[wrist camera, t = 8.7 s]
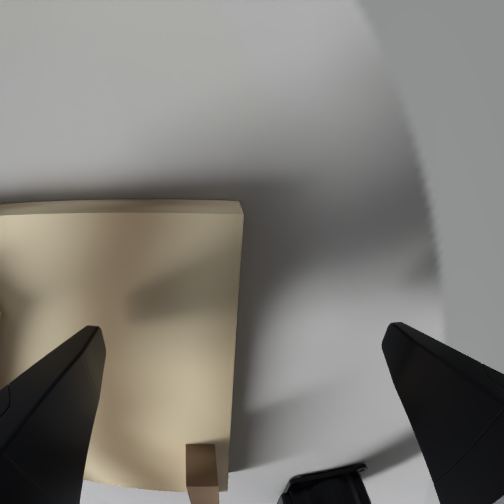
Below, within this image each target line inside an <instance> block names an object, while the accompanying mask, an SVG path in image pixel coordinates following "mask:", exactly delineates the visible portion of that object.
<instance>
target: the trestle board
mask: <svg viewBox="0 0 504 504" xmlns="http://www.w3.org/2000/svg"><path fill="white" fill-rule="evenodd" d="M243 222H244V213H243V211H242V208H241V205H240V203H239V201H226V200H185V199H107V200H69V201H44V202H25V203H9V204H0V311H2V312H3V314H2V320H1V325H0V390H1V389H2V388H3V387H5V386H6V385H7V384H8V385H9V383H10V382H11V381H13V380H14V379H15V378H17V377H18V376H19V375H20V374H22V373H23V372H24V371H26V370H27V369H28V368H30V367H31V366H32V365H34V364H35V363H36V362H38V361H39V360H40V359H42V358H43V357H44V356H46V355H47V354H48V353H50V352H51V351H52V350H54V349H55V348H56V347H58V346H59V345H60V344H62V343H63V342H65V341H66V340H67V339H69V338H70V337H71V336H73V335H74V334H76V333H77V332H78V331H80V330H81V329H82V328H84V327H85V326H87V325H92V326H99V327H100V328H101V330H102V334H103V338H104V342H105V346H106V359H105V365H104V372H103V379H102V386H101V393H100V399H99V404H98V408H97V412H96V416H95V421H94V425H93V430H92V434H91V439H90V444H89V449H88V454H87V459H86V465H85V470H84V476H83V479H84V480H88V481H93V482H98V483H104V484H110V485H116V486H123V487H130V488H138V489H148V490H159V491H175V492H188V495H189V498H190V502H191V504H219V492H227V489H228V468H229V448H230V429H231V411H232V393H233V375H234V359H235V342H236V326H237V310H238V295H239V280H240V265H241V250H242V236H243Z"/></svg>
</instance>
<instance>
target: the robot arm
mask: <svg viewBox="0 0 504 504" xmlns="http://www.w3.org/2000/svg"><path fill="white" fill-rule="evenodd" d="M382 350H383V353H384V356H385V359H386V362H387V365H388V368H389V371H390V374H391V377H392V380H393V383H394V386H395V388H396V391H397V393H398V395H399V397H400V400H401V402H402V404H403V407H404V409H405V411H406V414H407V416H408V418H409V421H410V423H411V426H412V428H413V431H414V433H415V436H416V438H417V441H418V443H419V446H420V448H421V451H422V453H423V456H424V459H425V461H426V464H427V467H428V469H429V472H430V475H431V478H432V480H433V483H434V487H435V489H436V492H437V495H438V498H439V501H440V504H504V374H502V373H500V372H498V371H496V370H494V369H492V368H490V367H488V366H486V365H484V364H481V363H480V362H478V361H476V360H474V359H473V358H471V357H469V356H466V355H465V354H463V353H461V352H459V351H457V350H455V349H453V348H451V347H449V346H447V345H445V344H443V343H441V342H439V341H437V340H435V339H434V338H432V337H430V336H428V335H426V334H424V333H422V332H420V331H418V330H416V329H414V328H412V327H410V326H408V325H406V324H404V323H402V322H394V323H391V324H389V326H388V328H387V331H386V333H385V336H384V338H383V341H382ZM105 359H106V346H105V342H104V338H103V334H102V330H101V328H100V327H99V326H92V325H87V326H85V327H84V328H82V329H81V330H80V331H78V332H77V333H76V334H74V335H73V336H71V337H70V338H69V339H67V340H66V341H65V342H63V343H62V344H60V345H59V346H58V347H56V348H55V349H54V350H52V351H51V352H50V353H48V354H47V355H46V356H44V357H43V358H42V359H40V360H39V361H38V362H36V363H35V364H34V365H32V366H31V367H30V368H28V369H27V370H26V371H24V372H23V373H22V374H20V375H19V376H18V377H17V378H15V379H14V380H13V381H11V382H10V383H9V385H8V384H7V385H6V386H5V387H3V388H2V389H1V390H0V504H79V503H80V496H81V489H82V483H83V476H84V470H85V465H86V459H87V454H88V449H89V444H90V439H91V434H92V430H93V425H94V421H95V416H96V412H97V408H98V404H99V399H100V393H101V386H102V379H103V372H104V365H105ZM366 470H367V466H366V464H361V465H357V466H353V467H349V468H345V469H341V470H336V471H332V472H327V473H322V474H317V475H312V476H306V477H300V478H294V479H291V480H290V481H289V482H288V484H287V486H286V488H285V490H284V492H283V494H282V495H281V496H280V498H279V500H278V502H277V504H371V501H370V499H369V496H368V494H367V491H366V489H365V486H364V484H363V481H362V479H361V476H362V474H363V473H364V472H365V471H366Z"/></svg>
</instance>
